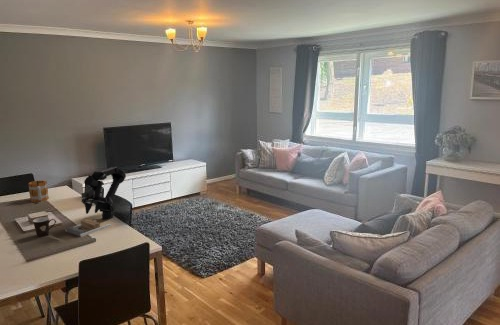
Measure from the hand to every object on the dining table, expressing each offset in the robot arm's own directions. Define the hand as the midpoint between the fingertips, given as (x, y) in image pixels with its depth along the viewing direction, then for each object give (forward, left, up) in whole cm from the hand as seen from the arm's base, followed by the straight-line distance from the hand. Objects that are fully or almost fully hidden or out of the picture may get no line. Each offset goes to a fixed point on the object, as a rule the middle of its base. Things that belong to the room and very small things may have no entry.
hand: (91, 213), depth 237 cm
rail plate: (+3, 0, -11) cm, 11 cm away
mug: (-17, -96, -11) cm, 98 cm away
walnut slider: (+1, 0, -10) cm, 10 cm away
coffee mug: (+21, -17, -11) cm, 29 cm away
